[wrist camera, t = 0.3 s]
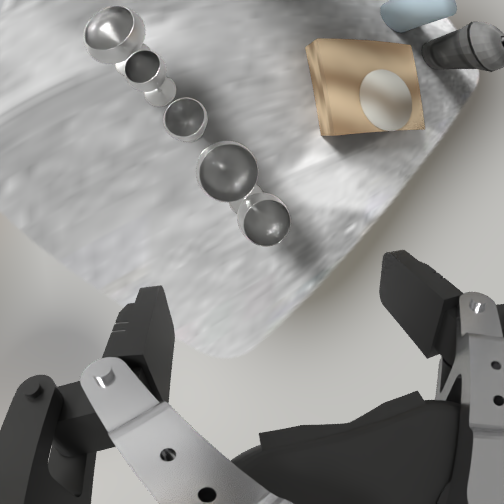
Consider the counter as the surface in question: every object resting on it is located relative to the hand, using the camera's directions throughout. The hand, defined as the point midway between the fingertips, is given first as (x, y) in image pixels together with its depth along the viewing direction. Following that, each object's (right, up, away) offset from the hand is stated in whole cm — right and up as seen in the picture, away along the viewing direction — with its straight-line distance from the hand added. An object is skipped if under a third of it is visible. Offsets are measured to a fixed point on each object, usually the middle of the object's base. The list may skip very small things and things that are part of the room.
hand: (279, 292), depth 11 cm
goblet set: (-9, +16, +23) cm, 30 cm away
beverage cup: (+27, +32, +24) cm, 48 cm away
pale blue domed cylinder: (+20, +36, +21) cm, 46 cm away
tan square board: (+14, +23, +25) cm, 36 cm away
